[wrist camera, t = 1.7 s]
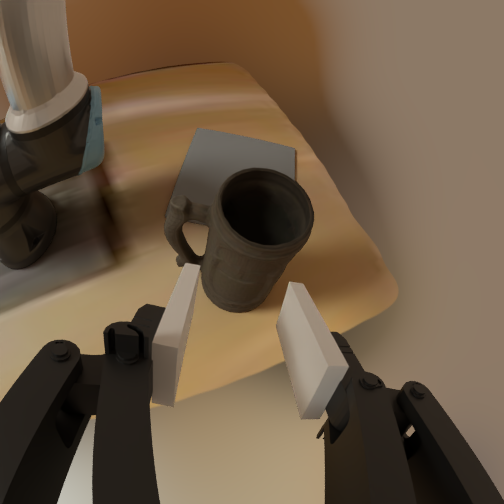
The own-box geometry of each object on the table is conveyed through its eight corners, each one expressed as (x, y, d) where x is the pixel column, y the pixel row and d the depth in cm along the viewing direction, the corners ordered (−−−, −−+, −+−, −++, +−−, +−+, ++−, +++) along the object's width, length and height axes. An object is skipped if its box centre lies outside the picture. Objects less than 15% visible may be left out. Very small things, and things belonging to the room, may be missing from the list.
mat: (292, 241, 48) (293, 240, 47) (165, 217, 45) (165, 215, 44) (293, 150, 59) (294, 148, 59) (197, 129, 56) (197, 127, 56)
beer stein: (270, 247, 46) (304, 162, 29) (279, 310, 42) (329, 251, 24) (176, 250, 44) (158, 162, 26) (176, 316, 39) (148, 258, 21)
